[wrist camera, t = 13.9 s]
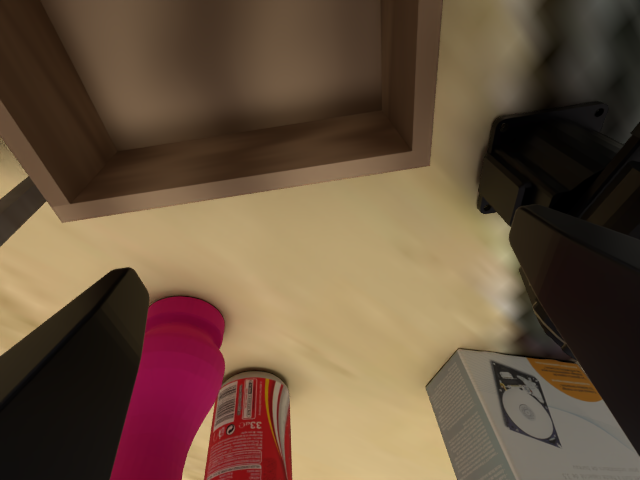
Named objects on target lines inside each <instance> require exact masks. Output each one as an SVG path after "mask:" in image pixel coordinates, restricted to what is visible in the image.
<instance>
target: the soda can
mask: <svg viewBox="0 0 640 480" xmlns="http://www.w3.org/2000/svg"><path fill="white" fill-rule="evenodd" d="M204 480H292V459H291V428H290V399H289V390H288V388H287V386H286V385H285V384H284V383H283V382H282V381H281V380H280V379H279V378H278V377H277V376H275V375H273V374H270V373H267V372H262V371H249V372H243V373H239V374H237V375H234V376H232V377H231V378H229V379H228V380H227V381H226V382H225V383H224V384H223V385H222V386H221V388H220V390H219V393H218V395H217V397H216V400H215V406H214V413H213V420H212V427H211V434H210V441H209V448H208V455H207V462H206V469H205V476H204Z"/></svg>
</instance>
